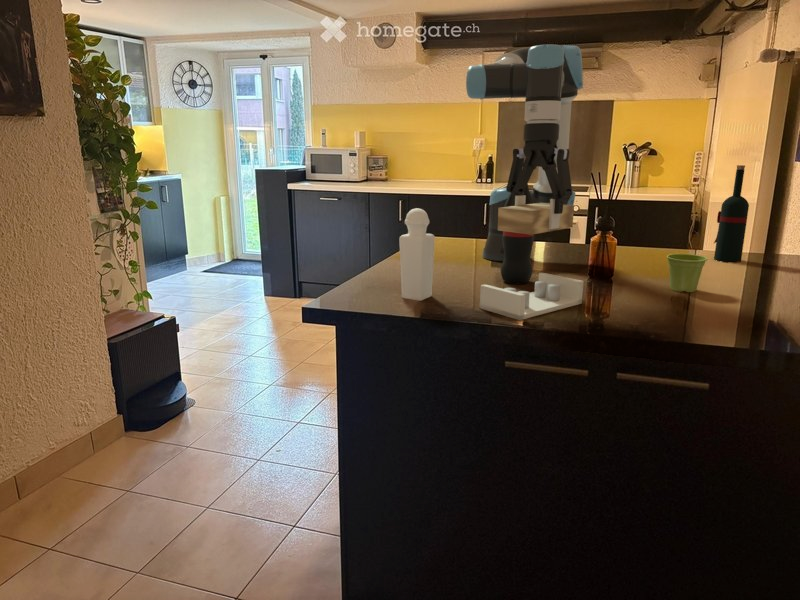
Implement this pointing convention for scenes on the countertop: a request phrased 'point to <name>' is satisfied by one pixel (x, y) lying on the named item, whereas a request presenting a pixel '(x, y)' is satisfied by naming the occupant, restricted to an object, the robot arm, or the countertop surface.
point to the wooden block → (532, 218)
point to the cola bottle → (517, 250)
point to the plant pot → (685, 271)
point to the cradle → (532, 297)
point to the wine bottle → (732, 223)
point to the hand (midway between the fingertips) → (535, 226)
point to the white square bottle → (416, 257)
